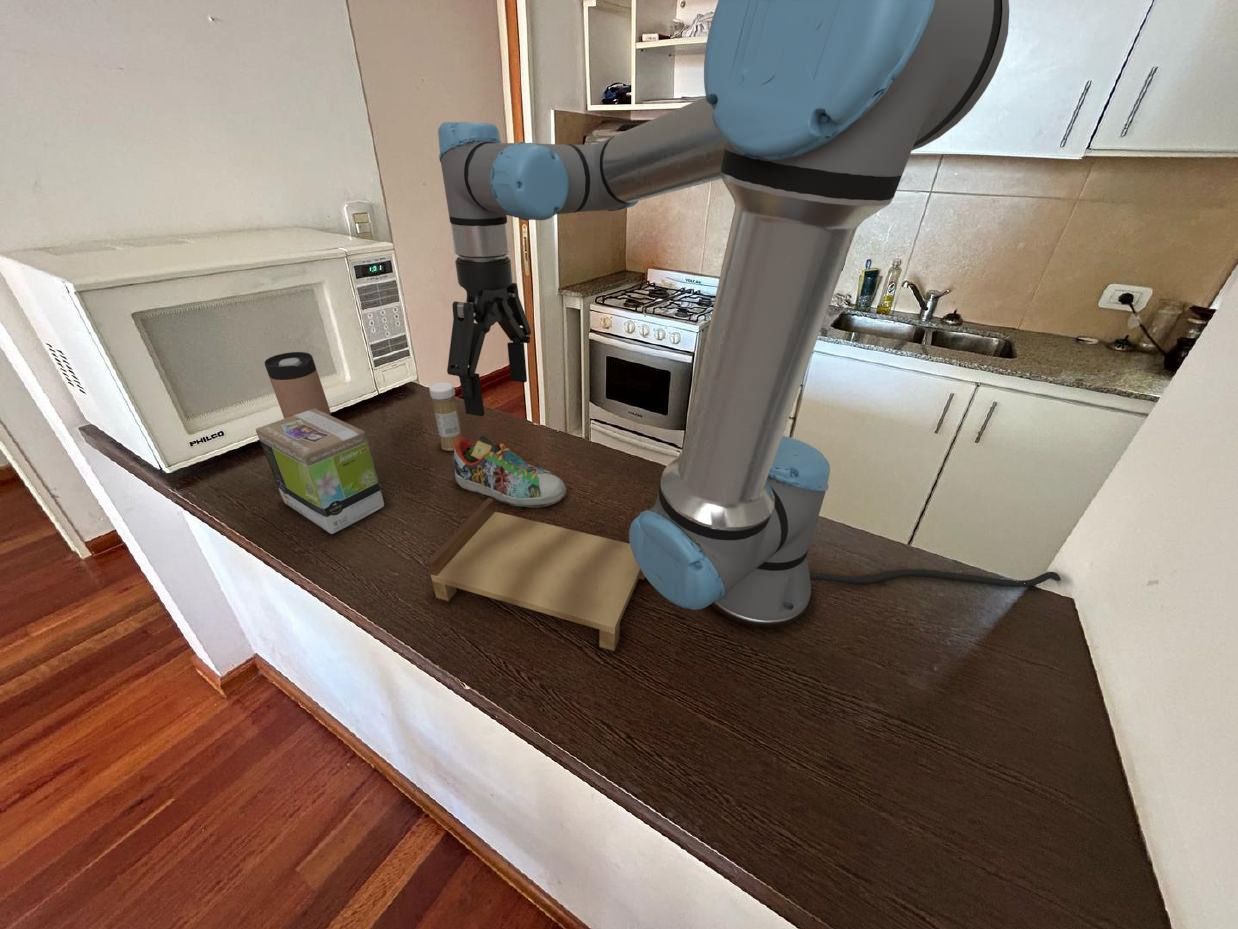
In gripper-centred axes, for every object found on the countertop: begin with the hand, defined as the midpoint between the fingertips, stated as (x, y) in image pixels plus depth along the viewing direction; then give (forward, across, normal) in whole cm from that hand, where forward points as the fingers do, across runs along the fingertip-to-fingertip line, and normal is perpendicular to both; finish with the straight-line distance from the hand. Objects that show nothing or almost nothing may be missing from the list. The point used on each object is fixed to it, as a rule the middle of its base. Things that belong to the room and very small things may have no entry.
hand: (498, 396), depth 82 cm
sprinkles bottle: (+19, -10, -19) cm, 28 cm away
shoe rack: (+18, +19, +16) cm, 31 cm away
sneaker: (+19, 0, 0) cm, 19 cm away
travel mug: (+19, +2, -41) cm, 45 cm away
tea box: (+19, +14, -26) cm, 35 cm away
